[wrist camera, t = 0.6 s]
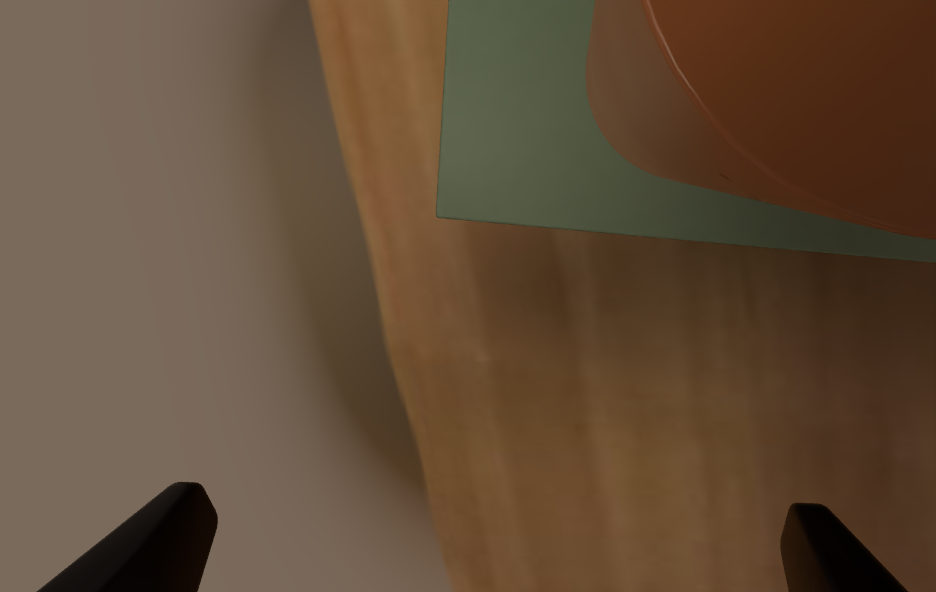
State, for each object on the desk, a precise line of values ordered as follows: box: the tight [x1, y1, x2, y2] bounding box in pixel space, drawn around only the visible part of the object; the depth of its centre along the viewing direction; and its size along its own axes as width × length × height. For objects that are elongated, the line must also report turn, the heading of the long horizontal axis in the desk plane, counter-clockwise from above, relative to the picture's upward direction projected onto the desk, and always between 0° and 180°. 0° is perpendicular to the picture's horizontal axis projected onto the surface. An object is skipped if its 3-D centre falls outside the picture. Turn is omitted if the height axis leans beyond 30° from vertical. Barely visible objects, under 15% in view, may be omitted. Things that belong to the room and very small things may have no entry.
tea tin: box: [585, 0, 936, 240], centre depth 9 cm, size 5×5×11 cm
